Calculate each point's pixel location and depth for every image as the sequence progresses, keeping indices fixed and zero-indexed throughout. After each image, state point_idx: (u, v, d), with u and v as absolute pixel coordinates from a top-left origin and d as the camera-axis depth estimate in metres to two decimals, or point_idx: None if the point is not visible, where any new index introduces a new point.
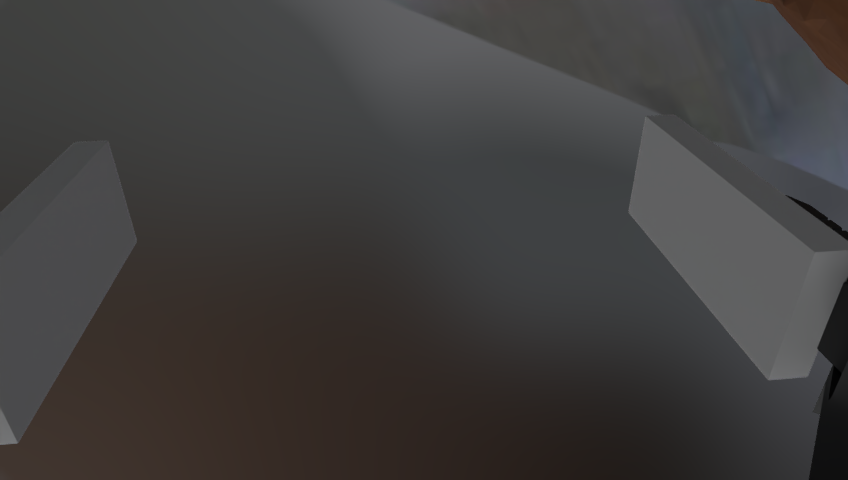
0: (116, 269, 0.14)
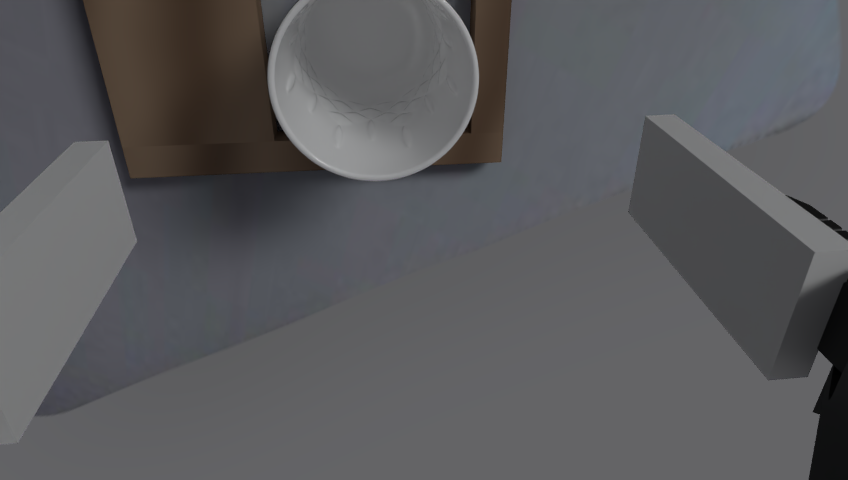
0: (116, 269, 0.14)
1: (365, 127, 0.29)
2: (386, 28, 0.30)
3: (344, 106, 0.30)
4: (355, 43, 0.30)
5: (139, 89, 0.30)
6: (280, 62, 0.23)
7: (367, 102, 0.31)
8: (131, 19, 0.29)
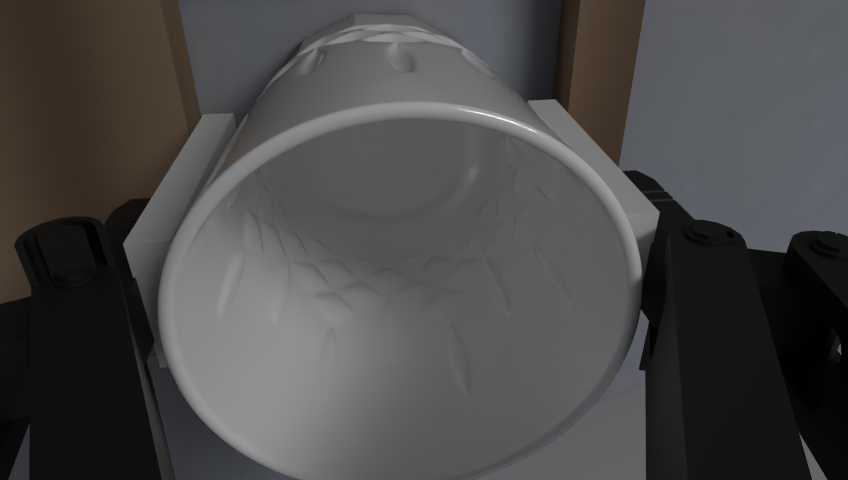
0: None
1: (380, 321, 0.16)
2: (413, 133, 0.17)
3: (341, 273, 0.17)
4: (360, 158, 0.17)
5: None
6: (197, 275, 0.11)
7: (380, 255, 0.18)
8: None
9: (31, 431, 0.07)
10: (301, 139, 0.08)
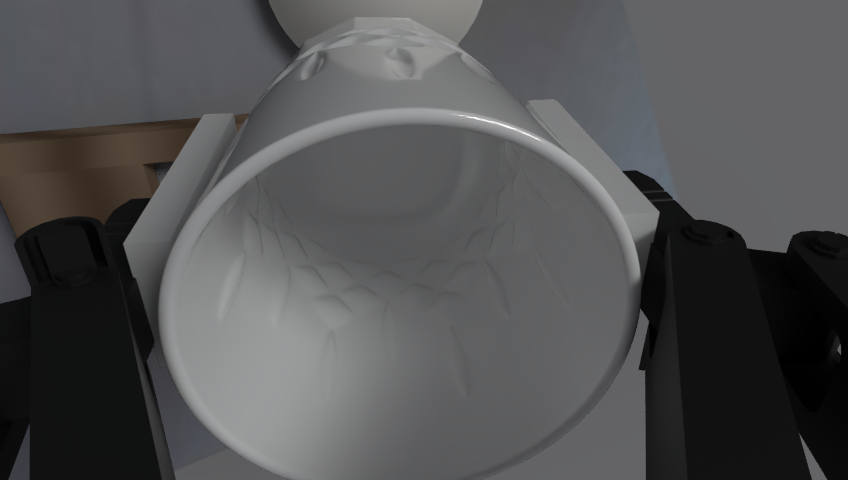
0: None
1: (380, 324, 0.16)
2: (413, 136, 0.17)
3: (341, 276, 0.17)
4: (359, 161, 0.17)
5: None
6: (197, 279, 0.11)
7: (380, 258, 0.18)
8: None
9: (32, 431, 0.07)
10: (301, 145, 0.08)
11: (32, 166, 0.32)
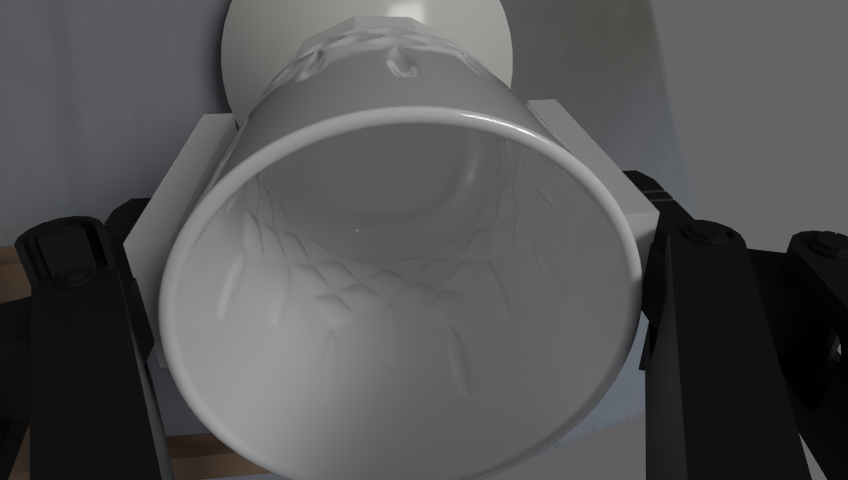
0: None
1: (380, 324, 0.16)
2: (414, 135, 0.17)
3: (341, 276, 0.17)
4: (360, 160, 0.17)
5: None
6: (198, 278, 0.11)
7: (380, 257, 0.18)
8: None
9: (32, 431, 0.07)
10: (302, 143, 0.08)
11: None
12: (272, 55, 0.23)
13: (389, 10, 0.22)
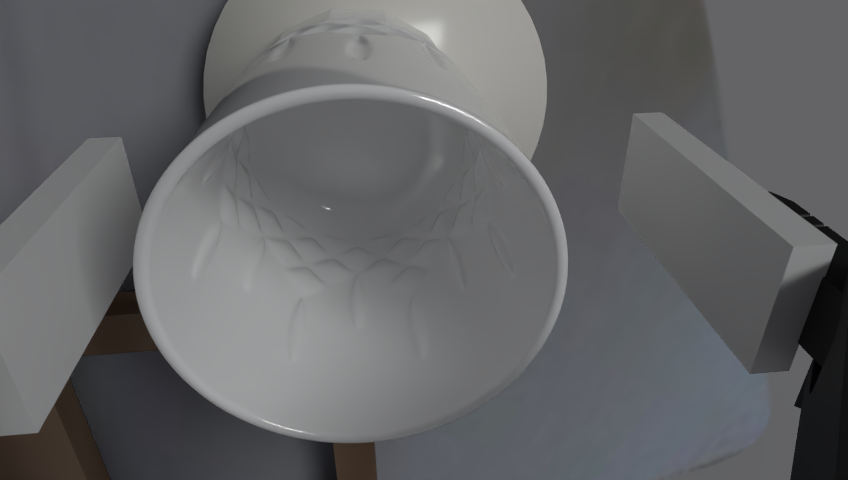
0: (129, 264, 0.14)
1: (348, 294, 0.17)
2: (385, 121, 0.18)
3: (314, 250, 0.18)
4: (335, 143, 0.18)
5: None
6: (171, 239, 0.12)
7: (353, 235, 0.19)
8: None
9: None
10: (258, 114, 0.09)
11: None
12: None
13: None
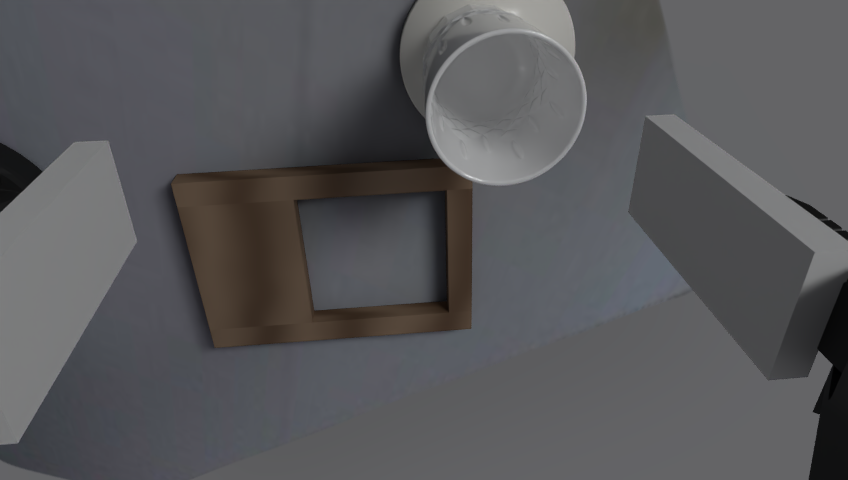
0: (116, 269, 0.14)
1: (480, 141, 0.36)
2: (494, 60, 0.37)
3: (460, 124, 0.37)
4: (469, 72, 0.37)
5: (222, 296, 0.45)
6: None
7: (476, 120, 0.38)
8: (219, 258, 0.44)
9: None
10: (481, 39, 0.28)
11: (210, 200, 0.41)
12: None
13: None
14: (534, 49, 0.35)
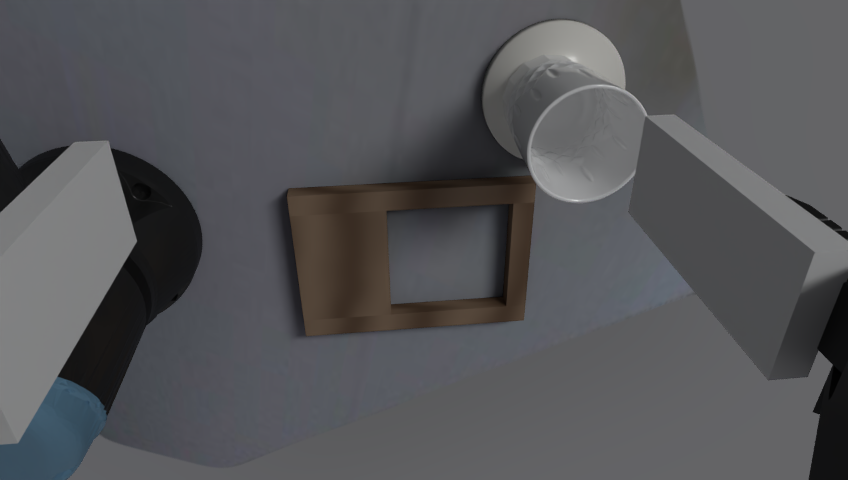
0: (116, 269, 0.14)
1: (554, 166, 0.44)
2: (563, 99, 0.45)
3: (536, 151, 0.45)
4: None
5: (318, 291, 0.53)
6: None
7: (546, 147, 0.46)
8: (319, 259, 0.52)
9: None
10: (575, 92, 0.37)
11: (317, 210, 0.49)
12: None
13: None
14: (598, 93, 0.44)
